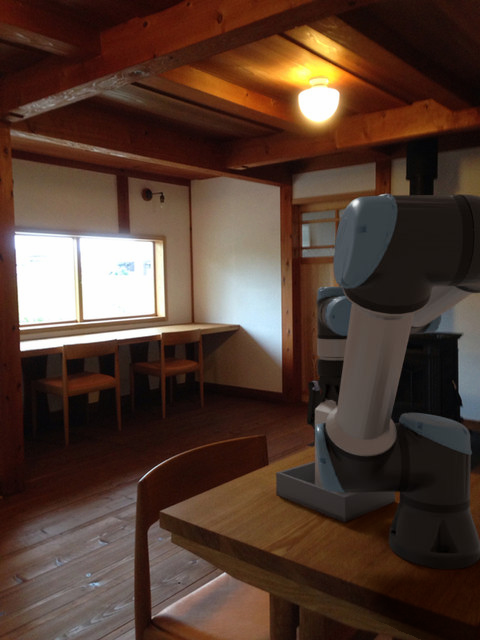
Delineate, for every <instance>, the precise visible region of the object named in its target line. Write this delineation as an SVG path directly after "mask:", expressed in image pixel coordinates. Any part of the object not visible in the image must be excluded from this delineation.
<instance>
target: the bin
mask: <svg viewBox="0 0 480 640" xmlns="http://www.w3.org/2000/svg"><path fill="white" fill-rule="evenodd" d="M275 478H276V479H275V481H276V483H275V484H276V486H275V487H276V491H275V492H276V495H277V496H279V497H281V498H284V499H287V500H289V501H291V502H294V503H296V504H298V505H301V506H302V507H306V508H309V509H311V510H313V511H316V512H319V513H321V514H323V515H325V516H328V517H330V518H333V519H335V520H338V521H340V522H343V523H347V522H349V521H352V520H354V519H356V518H359V517H361V516H363V515H366V514H368V513H370V512H373V511H375V510H377V509H380V508H382V507H385V506H387V505H390V504H392V503H395V502H396V492H352V493H349V494H347V495H342V494H339V493H336V492H330V491H327V490H325V489H324V488H323V487H320V486H317V485H315V460H314V461H310V462H306V463H304V464H300V465H298V466H297V465H296V466H294V467H290V468H287V469H283V470H281V471H280V470H279V471H277V472H276V473H275Z"/></svg>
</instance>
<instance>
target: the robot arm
mask: <svg viewBox="0 0 480 640" xmlns="http://www.w3.org/2000/svg"><path fill="white" fill-rule="evenodd" d="M337 227H338V228H337V231H336V235H335V240H334V253H333V254H334V255H333V260H332V261H333V263H332V264H333V276H334V279H335V282H336V284H337V285H338V286H321V287H319V288H318V289H317V294H316V295H317V296H316V297H317V299H316V308H317V309H316V314H317V319H316V321H317V334H316V335H317V336H316V337H317V338H316V340H317V341H316V343H317V344H316V345H317V346H316V350H317V352H316V355H317V356H318V357H319V358H318V359H317V361H316V363H317V364H316V370H317V371H316V374H317V375H318V380H312V381H309V382H307V386H308V392H309V393H308V403H307V404H308V405H307V413H306V424H307V425H308V426H311V427H312V429H313V442H314V443H315V439H316V449H317V457H318V465H319V472H320V478H321V483H322V486H323V488H324V489H325V490H327V491H330V492H342V493H349V492H395V493H399V502H398V505H397V508H396V510H395V514H394V516H393V518H392V521H391V525H390V528H389V530H388V531H389V533H388V544H389V547H390V549H391V551H392V552H394V553H395V554H396V555H397V556H399V557H400V558H402V559H404V560H406V561H408V562H410V563H413V564H416V565H420V566H423V567H427V568H433V569H440V570H441V569H443V570H456V569H464V568H467V567H471V566H473V565H475V564H476V563H477V562H478V561H479V560H480V537H479V534H478V532H477V528H476V526H475V522H474V519H473V518H474V517H473V516H472V513H471V509H470V508H471V504H470V503H471V502H470V501H471V500H470V499H471V468H472V467H471V462H472V461H471V460H472V459H471V458H472V454H473V452H472V451H473V450H472V449H471V434H470V431H469V429H468V428H467V427H466V425H464V424H462V423H460V422H458V421H456V420H453V419H451V418H447V417H443V416H438V415H434V414H429V413H428V414H427V413H422V412H421V413H420V412H408V413H407V412H405V413H402V414H401V415H400V417H399V419H398V423H396V422H395V423H394V420H393V419H392V413H393V408H394V404H395V400H396V396H397V392H398V386H399V382H400V378H401V373H402V370H403V369H402V368H403V365H404V364H403V363H404V360H405V356H406V352H407V346H408V342H409V340H410V339H409V338H410V334H415V335H423V334H432V333H436V331H438V329H439V326H440V325H441V322H442V315H443V314H444V313H446V312H447V311H448V310H450V309H452V308H453V307H454V306H456V305H458V304H459V303H461V302H462V301H464V300H465V299H466V298H468V297H469V296H471V295H472V294H480V196H479V195H474V194H459V193H458V194H430V195H429V194H422V195H421V194H418V195H417V194H413V195H412V194H408V195H407V194H405V195H404V194H403V195H400V194H398V195H397V194H396V195H392V193H383V194H382V193H381V194H380V195H372V196H371V195H370V196H367V195H366V196H360V197H357V198H355V199H353V200H351V202H350V203H349V204H348V205H347V206H346V208H345V209H344V210H343V212H342V215H341V217H340V219H339V223H338V225H337ZM325 398H326V400H333V401H335V402H336V405H337V407H336V408H334V409H333V410H332V411H331V412H330V414H329V415H328V417H327V421H326V423H321V424H318V425H316V426H315V409H316V408H317V407H318V406H319V405H320V404H321V403H323V402H325V401H326V400H325Z"/></svg>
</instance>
